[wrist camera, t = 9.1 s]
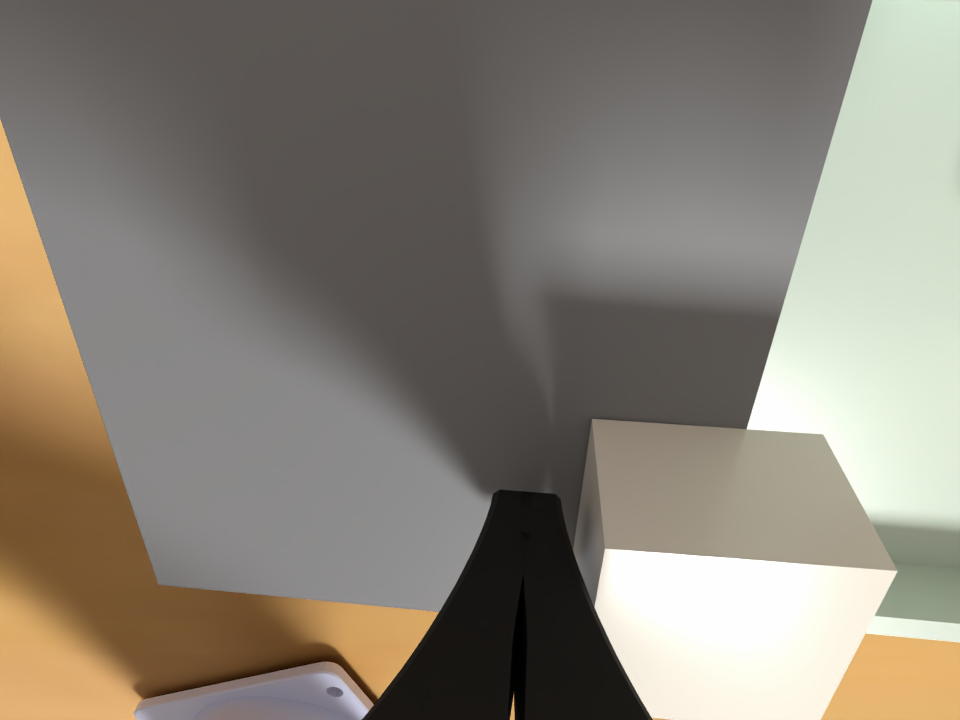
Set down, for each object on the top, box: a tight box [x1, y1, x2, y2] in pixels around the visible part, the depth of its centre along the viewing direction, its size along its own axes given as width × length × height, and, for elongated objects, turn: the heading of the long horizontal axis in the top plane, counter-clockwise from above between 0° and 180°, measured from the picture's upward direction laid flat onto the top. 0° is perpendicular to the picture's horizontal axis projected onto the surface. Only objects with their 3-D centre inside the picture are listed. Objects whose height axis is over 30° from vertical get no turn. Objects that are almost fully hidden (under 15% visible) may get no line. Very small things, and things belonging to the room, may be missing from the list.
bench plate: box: [0, 0, 873, 612], centre depth 13 cm, size 12×13×2 cm
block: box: [573, 419, 898, 720], centre depth 12 cm, size 4×4×3 cm
